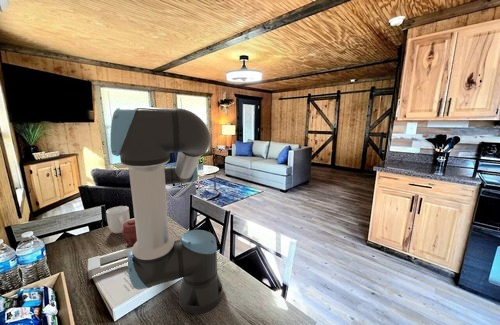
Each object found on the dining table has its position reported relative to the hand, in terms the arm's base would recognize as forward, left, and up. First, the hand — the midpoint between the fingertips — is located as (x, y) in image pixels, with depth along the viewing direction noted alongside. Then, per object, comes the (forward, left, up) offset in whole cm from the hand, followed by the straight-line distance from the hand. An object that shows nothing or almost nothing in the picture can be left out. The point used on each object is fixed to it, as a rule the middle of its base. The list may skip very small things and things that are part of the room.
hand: (156, 234), depth 101 cm
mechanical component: (+13, +8, -8) cm, 18 cm away
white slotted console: (0, +16, -8) cm, 18 cm away
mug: (+32, +13, -8) cm, 36 cm away
